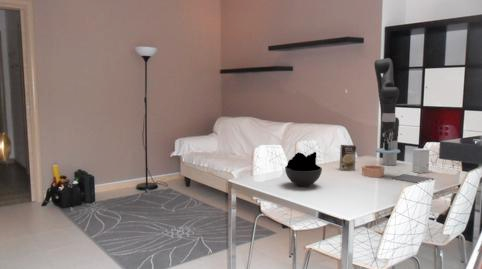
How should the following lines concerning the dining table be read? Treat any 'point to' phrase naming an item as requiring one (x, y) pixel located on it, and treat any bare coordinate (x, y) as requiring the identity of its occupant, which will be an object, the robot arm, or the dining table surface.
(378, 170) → the bowl
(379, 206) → the dining table surface
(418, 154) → the skincare box
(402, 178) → the mat
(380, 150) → the lid
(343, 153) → the coffee box
